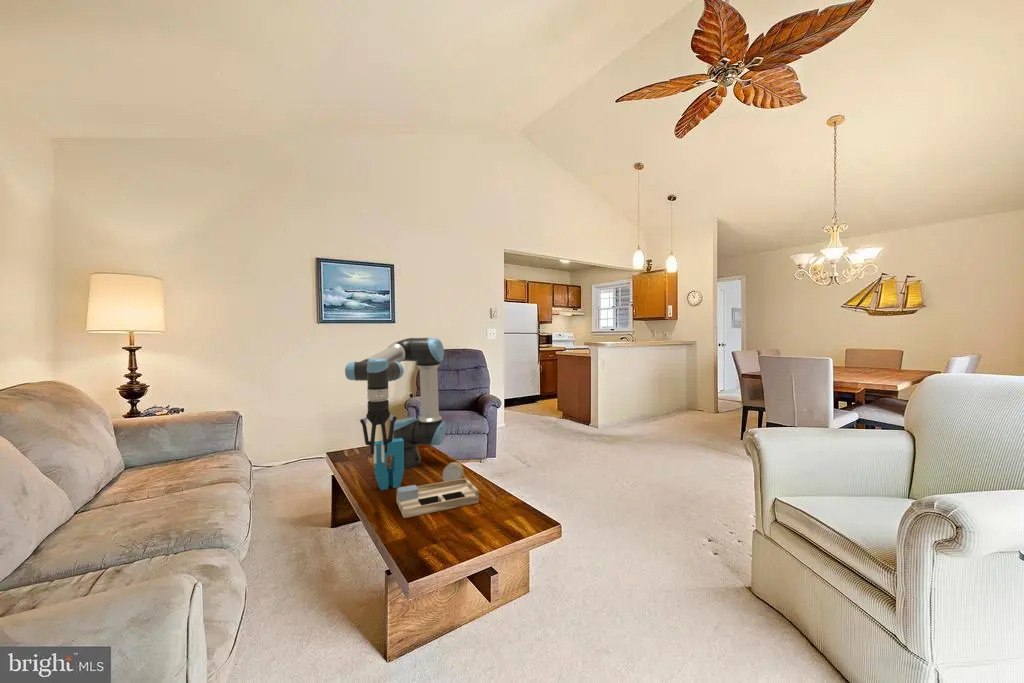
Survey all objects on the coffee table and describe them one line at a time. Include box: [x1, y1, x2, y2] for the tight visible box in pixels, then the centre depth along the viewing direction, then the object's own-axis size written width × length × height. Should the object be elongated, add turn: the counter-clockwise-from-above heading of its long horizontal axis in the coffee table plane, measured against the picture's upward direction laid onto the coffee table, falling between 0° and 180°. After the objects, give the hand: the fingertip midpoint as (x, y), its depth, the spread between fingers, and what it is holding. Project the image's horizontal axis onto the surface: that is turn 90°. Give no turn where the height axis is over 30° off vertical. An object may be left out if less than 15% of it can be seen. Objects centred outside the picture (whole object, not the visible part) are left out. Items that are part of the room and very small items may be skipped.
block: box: [396, 484, 418, 501], centre depth 153 cm, size 5×7×4 cm
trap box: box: [396, 477, 480, 519], centre depth 155 cm, size 15×29×5 cm, turn 116°
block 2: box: [373, 438, 405, 491], centre depth 172 cm, size 12×5×20 cm, turn 119°
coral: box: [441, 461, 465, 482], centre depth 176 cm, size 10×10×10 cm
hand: (378, 461), depth 148 cm, fingers open, 2 cm apart
